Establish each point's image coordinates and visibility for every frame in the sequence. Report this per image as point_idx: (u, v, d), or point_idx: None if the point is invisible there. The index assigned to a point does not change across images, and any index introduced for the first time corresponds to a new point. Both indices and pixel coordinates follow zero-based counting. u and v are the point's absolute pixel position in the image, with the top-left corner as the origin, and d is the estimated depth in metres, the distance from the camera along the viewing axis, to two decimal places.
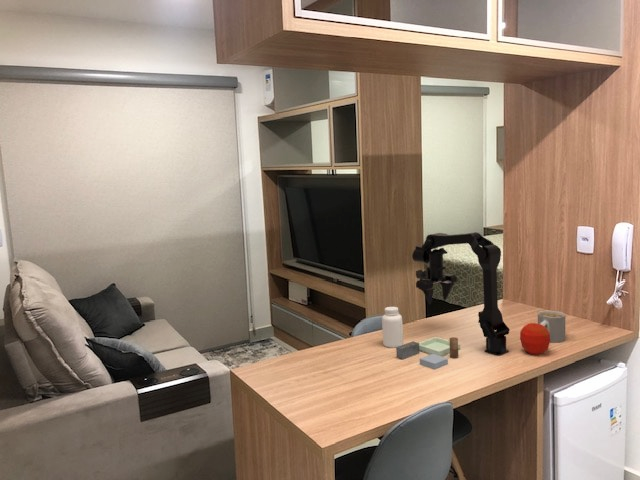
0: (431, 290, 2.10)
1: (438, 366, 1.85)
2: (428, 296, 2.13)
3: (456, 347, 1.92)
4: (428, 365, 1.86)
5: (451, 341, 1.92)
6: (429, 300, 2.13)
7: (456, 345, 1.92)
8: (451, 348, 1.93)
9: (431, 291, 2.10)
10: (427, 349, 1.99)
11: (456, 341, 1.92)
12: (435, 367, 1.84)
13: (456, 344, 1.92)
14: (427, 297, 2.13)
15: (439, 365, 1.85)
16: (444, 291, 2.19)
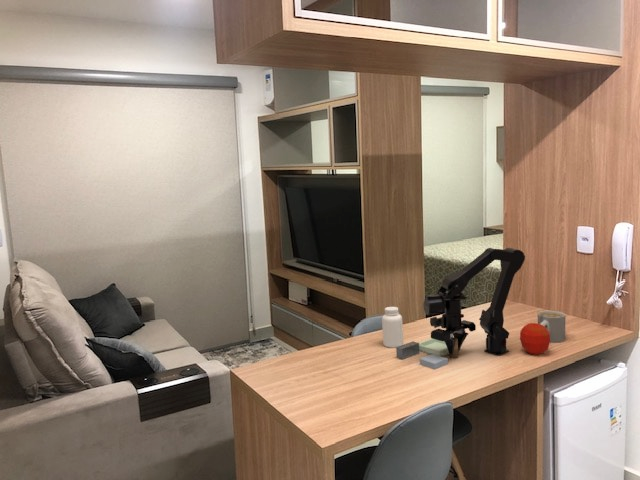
0: (453, 340, 1.89)
1: (438, 366, 1.85)
2: (450, 346, 1.91)
3: (456, 347, 1.92)
4: (428, 365, 1.86)
5: None
6: (451, 350, 1.92)
7: (456, 345, 1.92)
8: None
9: (453, 341, 1.89)
10: (427, 349, 1.99)
11: (456, 341, 1.92)
12: (435, 367, 1.84)
13: (456, 344, 1.92)
14: (448, 347, 1.92)
15: (439, 365, 1.85)
16: None
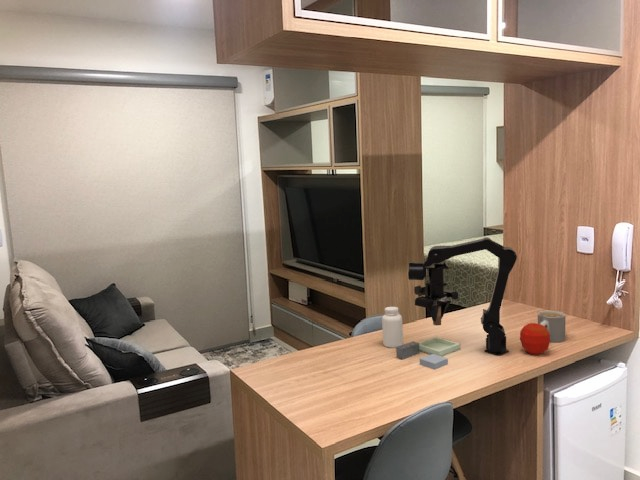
0: (436, 307, 1.96)
1: (438, 366, 1.85)
2: (433, 313, 1.98)
3: (439, 314, 1.99)
4: (428, 365, 1.86)
5: None
6: (434, 317, 1.99)
7: (439, 312, 1.99)
8: None
9: (436, 308, 1.96)
10: (427, 349, 1.99)
11: (439, 308, 1.99)
12: (435, 367, 1.84)
13: (439, 311, 1.99)
14: (432, 314, 1.99)
15: (439, 365, 1.85)
16: None
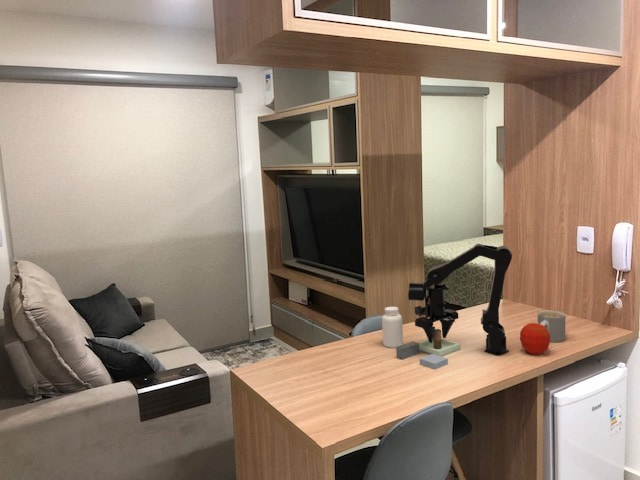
0: (432, 329, 1.96)
1: (438, 366, 1.85)
2: (429, 335, 1.99)
3: (439, 338, 2.01)
4: (428, 365, 1.86)
5: (434, 333, 2.01)
6: (430, 339, 1.99)
7: (439, 336, 2.01)
8: (434, 339, 2.01)
9: (432, 330, 1.96)
10: (427, 349, 1.99)
11: (439, 332, 2.01)
12: (435, 367, 1.84)
13: (439, 335, 2.01)
14: (428, 335, 1.99)
15: (439, 365, 1.85)
16: (443, 329, 2.04)
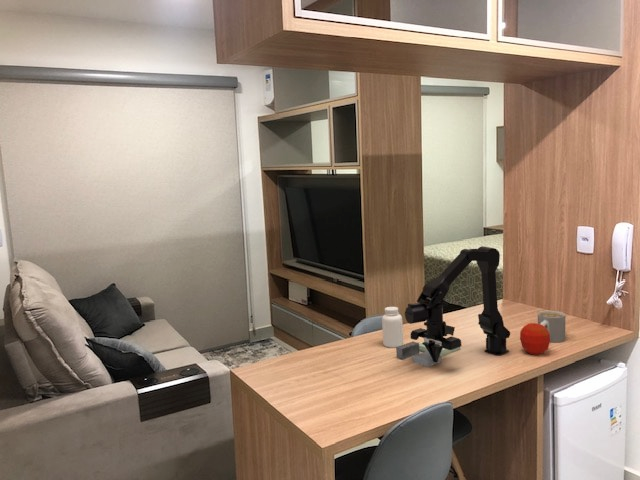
0: (425, 345, 1.86)
1: (431, 363, 1.87)
2: None
3: None
4: (421, 362, 1.88)
5: None
6: None
7: None
8: None
9: (426, 346, 1.87)
10: None
11: None
12: (428, 364, 1.87)
13: None
14: None
15: (432, 363, 1.88)
16: None
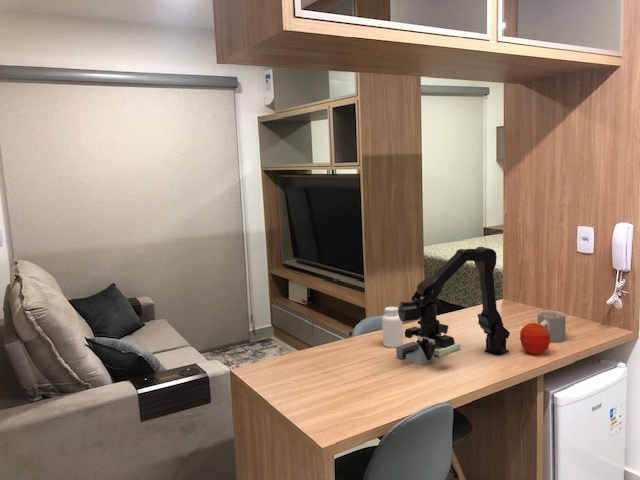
0: (419, 343, 1.89)
1: (424, 361, 1.90)
2: None
3: None
4: (414, 361, 1.91)
5: None
6: None
7: None
8: None
9: (419, 344, 1.89)
10: None
11: None
12: (421, 362, 1.89)
13: (439, 335, 2.01)
14: None
15: (425, 361, 1.90)
16: None
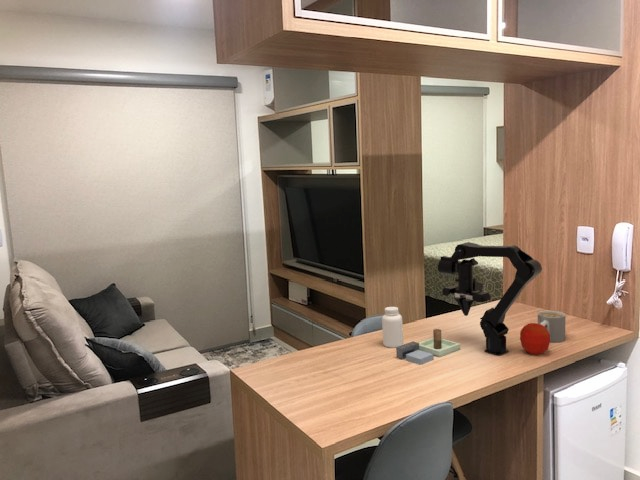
0: (456, 300, 2.03)
1: (424, 361, 1.90)
2: None
3: (439, 338, 2.01)
4: (414, 361, 1.91)
5: (435, 333, 2.01)
6: None
7: (439, 336, 2.01)
8: (435, 339, 2.02)
9: (457, 301, 2.03)
10: (427, 349, 1.99)
11: (439, 332, 2.01)
12: (421, 362, 1.89)
13: (439, 335, 2.01)
14: None
15: (425, 361, 1.90)
16: None
